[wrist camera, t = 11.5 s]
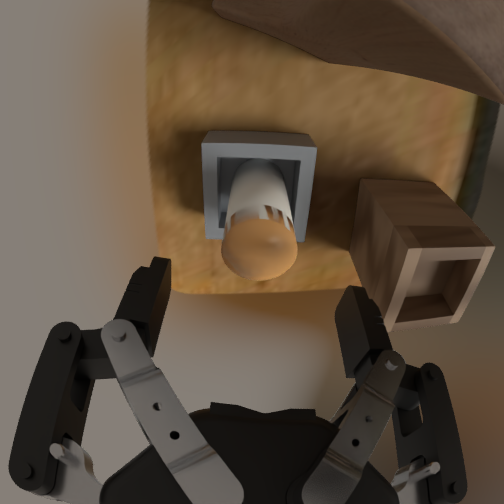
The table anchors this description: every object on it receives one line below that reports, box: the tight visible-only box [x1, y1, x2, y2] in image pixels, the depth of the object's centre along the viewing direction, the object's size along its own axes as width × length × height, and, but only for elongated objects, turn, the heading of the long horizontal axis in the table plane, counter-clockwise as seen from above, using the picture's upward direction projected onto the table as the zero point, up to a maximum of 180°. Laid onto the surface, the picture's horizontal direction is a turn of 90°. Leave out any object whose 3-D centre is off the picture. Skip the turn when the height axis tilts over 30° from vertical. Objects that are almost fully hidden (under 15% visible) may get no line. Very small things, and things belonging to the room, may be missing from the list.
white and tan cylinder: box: [221, 159, 298, 280], centre depth 20 cm, size 4×4×9 cm
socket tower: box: [349, 178, 495, 332], centre depth 22 cm, size 8×8×10 cm
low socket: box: [202, 131, 317, 242], centre depth 23 cm, size 8×8×4 cm
